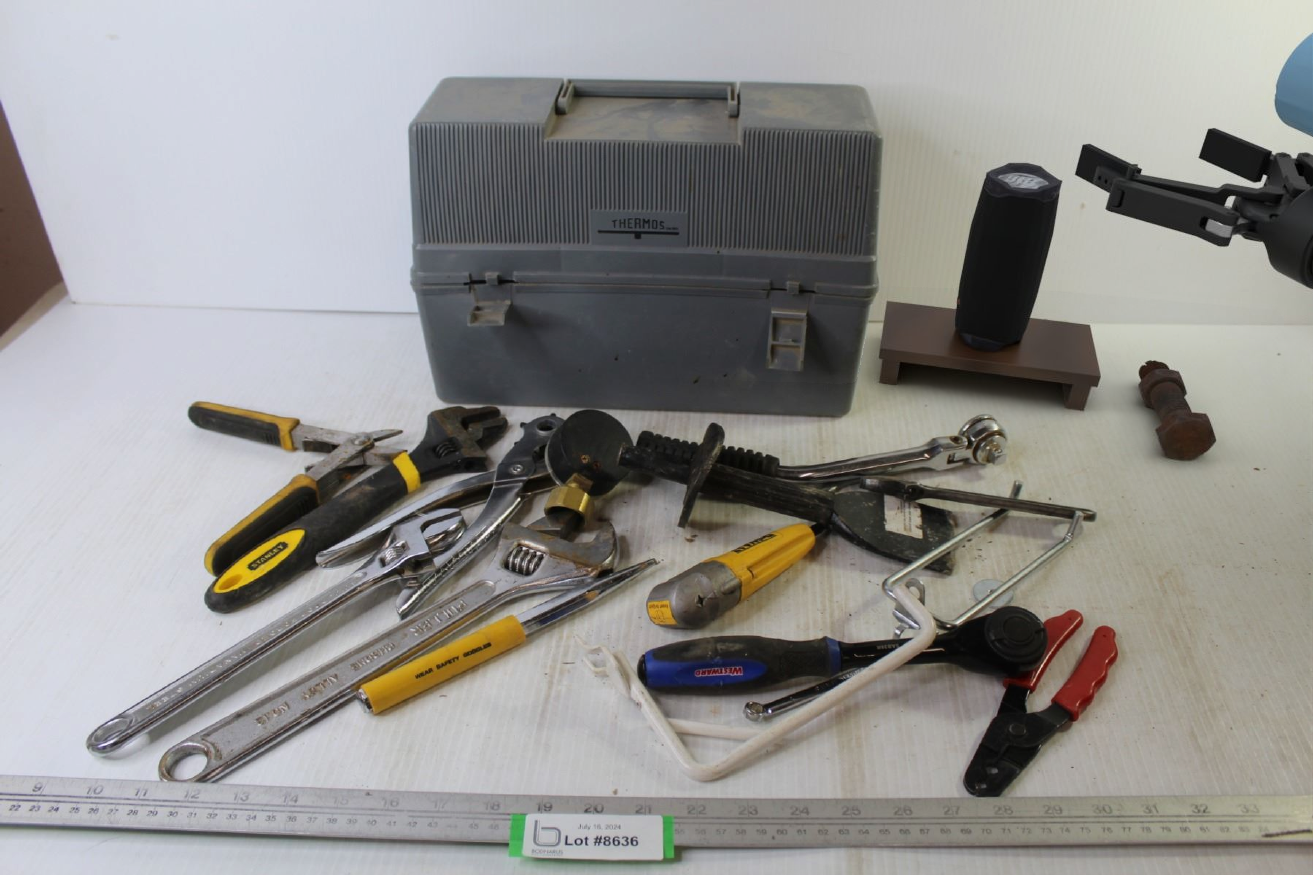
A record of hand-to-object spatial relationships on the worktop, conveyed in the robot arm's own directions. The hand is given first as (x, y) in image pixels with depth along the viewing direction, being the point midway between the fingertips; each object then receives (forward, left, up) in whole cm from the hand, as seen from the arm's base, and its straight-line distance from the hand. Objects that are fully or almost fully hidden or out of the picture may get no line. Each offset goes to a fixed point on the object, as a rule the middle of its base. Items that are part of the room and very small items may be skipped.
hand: (1145, 151), depth 87 cm
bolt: (-12, -7, -32) cm, 35 cm away
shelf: (+8, -12, -32) cm, 35 cm away
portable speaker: (+8, -12, -27) cm, 31 cm away
